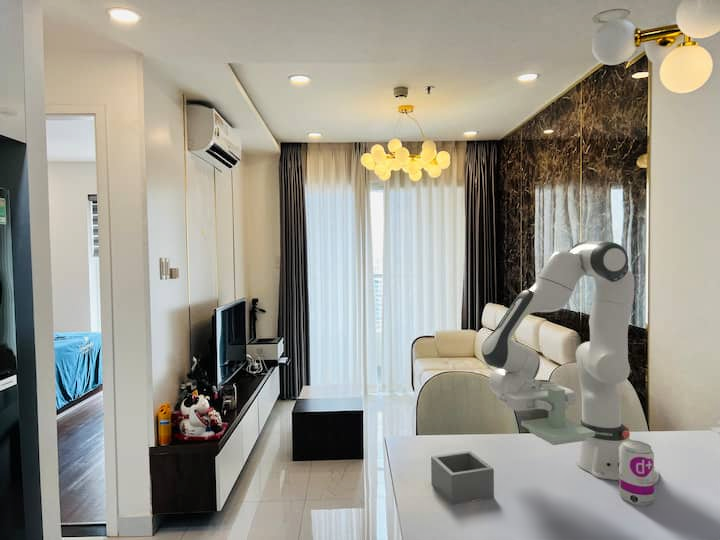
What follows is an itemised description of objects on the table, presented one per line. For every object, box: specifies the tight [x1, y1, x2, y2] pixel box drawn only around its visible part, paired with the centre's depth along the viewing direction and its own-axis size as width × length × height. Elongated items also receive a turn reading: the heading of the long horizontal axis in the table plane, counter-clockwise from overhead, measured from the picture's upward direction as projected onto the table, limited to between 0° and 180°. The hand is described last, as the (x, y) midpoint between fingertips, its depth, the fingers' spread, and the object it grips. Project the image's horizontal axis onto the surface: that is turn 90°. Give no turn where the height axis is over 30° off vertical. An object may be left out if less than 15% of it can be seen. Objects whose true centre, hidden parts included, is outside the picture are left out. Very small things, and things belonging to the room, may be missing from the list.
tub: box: [430, 450, 495, 505], centre depth 135 cm, size 13×13×8 cm
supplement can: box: [618, 439, 655, 507], centre depth 129 cm, size 8×8×15 cm
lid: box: [520, 387, 595, 446], centre depth 126 cm, size 13×13×13 cm
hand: (558, 406), depth 125 cm, fingers closed on lid, 3 cm apart
